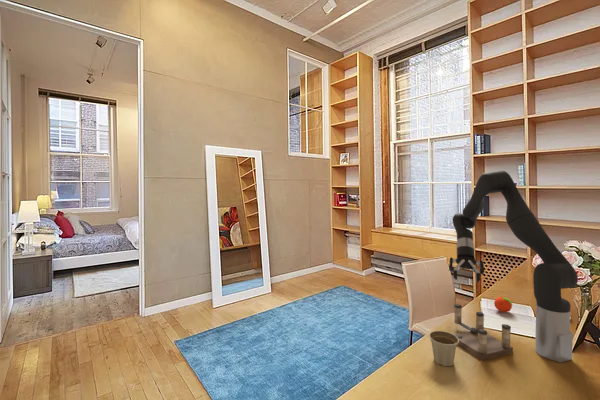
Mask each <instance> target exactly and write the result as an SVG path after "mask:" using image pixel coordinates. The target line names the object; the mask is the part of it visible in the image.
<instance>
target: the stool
mask: <svg viewBox="0 0 600 400" xmlns="http://www.w3.org/2000/svg"><path fill="white" fill-rule="evenodd" d="M475 320H476V321H475V328H476V329H477V333H472V332H471V331H466V332H461V333H453V334H454V335H455V336H457V337H458V339H459V343H458V344H457V346H460V347H461V348H463V349H464V350H466V351H468V352H469V353H470V354H472V355H474V356H475V357H477V358H478V359H480V360H481V361H486V360H491V359H494V358H498V357H502V356H507V355H510V354H513V352H514V347H512V346H511V325H510V324H506V323H505V324H504V323H503V324H501V340H500V339H498V338H496V337H494V336H493V335H490V334H488V331H487V330H486V329H484V327H485V324H484V323H485V322H484V321H485V313H484V312H481V311H476V313H475Z"/></svg>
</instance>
